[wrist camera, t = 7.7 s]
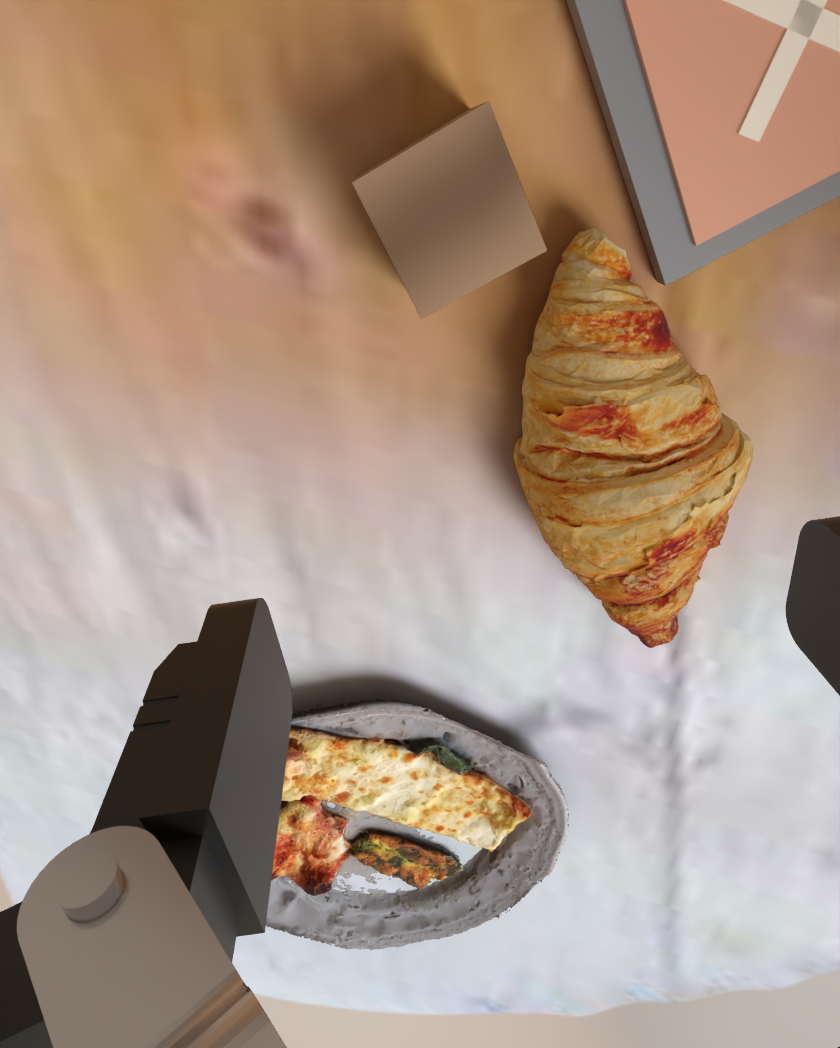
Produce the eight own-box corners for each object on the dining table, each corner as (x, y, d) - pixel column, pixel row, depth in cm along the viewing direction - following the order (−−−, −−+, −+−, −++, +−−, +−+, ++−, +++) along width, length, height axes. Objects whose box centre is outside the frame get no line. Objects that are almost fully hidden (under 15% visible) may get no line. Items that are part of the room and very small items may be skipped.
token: (520, 234, 28) (547, 250, 24) (414, 293, 29) (421, 318, 24) (469, 108, 26) (488, 101, 21) (355, 176, 26) (352, 182, 22)
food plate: (128, 856, 46) (112, 907, 43) (297, 624, 37) (292, 667, 34) (427, 945, 54) (431, 993, 51) (620, 772, 46) (639, 818, 43)
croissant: (495, 241, 31) (426, 293, 25) (731, 174, 26) (714, 221, 20) (585, 595, 41) (551, 692, 35) (770, 598, 36) (766, 712, 30)
